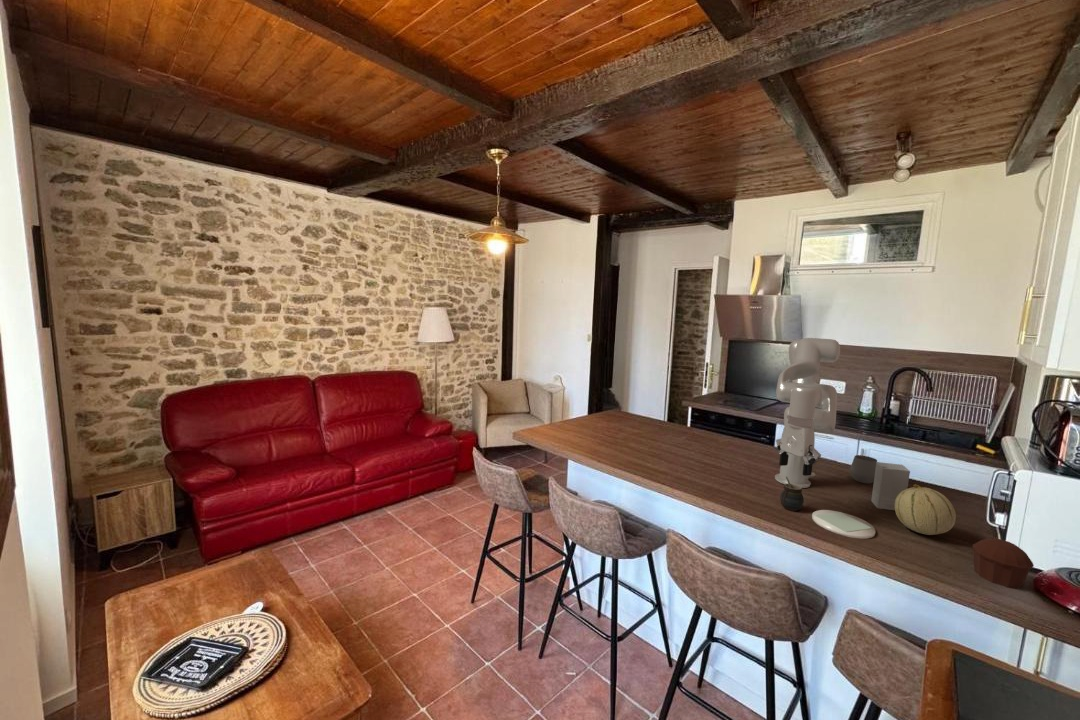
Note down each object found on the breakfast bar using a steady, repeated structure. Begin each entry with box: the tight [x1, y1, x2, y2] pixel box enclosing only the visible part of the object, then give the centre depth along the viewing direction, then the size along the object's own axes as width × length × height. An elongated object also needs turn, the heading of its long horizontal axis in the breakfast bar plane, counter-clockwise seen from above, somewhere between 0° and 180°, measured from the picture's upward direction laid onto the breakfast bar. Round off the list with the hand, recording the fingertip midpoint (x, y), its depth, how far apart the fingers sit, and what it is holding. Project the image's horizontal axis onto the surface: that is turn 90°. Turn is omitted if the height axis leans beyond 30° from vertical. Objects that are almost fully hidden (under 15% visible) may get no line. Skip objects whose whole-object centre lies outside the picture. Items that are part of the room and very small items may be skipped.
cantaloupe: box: [894, 484, 957, 536], centre depth 140 cm, size 15×15×15 cm
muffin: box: [972, 537, 1035, 589], centre depth 116 cm, size 12×11×10 cm
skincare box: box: [870, 461, 911, 511], centre depth 157 cm, size 8×7×16 cm
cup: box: [849, 454, 878, 484], centre depth 182 cm, size 10×9×10 cm
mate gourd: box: [779, 477, 805, 512], centre depth 153 cm, size 7×8×10 cm
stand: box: [811, 509, 876, 540], centre depth 143 cm, size 17×17×1 cm
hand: (794, 470), depth 152 cm, fingers open, 9 cm apart
